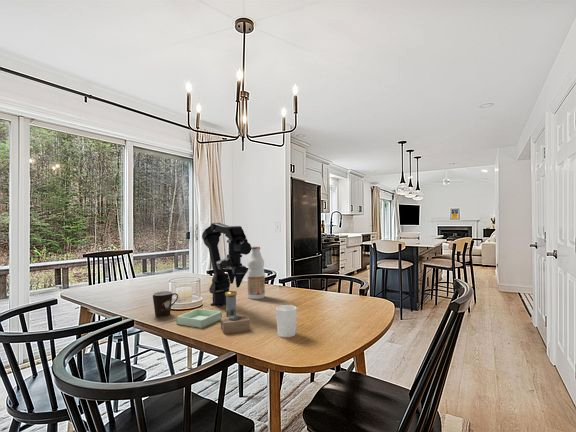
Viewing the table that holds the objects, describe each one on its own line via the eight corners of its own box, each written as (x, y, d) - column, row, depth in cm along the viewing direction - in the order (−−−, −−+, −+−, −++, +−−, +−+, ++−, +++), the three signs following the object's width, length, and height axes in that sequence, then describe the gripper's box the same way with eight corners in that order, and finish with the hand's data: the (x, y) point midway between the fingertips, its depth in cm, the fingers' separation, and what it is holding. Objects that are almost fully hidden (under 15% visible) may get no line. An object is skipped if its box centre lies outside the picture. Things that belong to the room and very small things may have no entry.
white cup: (275, 331, 127) (275, 305, 128) (295, 330, 128) (295, 304, 128) (276, 338, 120) (276, 311, 120) (298, 337, 120) (297, 310, 120)
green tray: (176, 323, 138) (176, 316, 138) (197, 315, 150) (197, 308, 150) (201, 327, 132) (201, 320, 132) (221, 318, 144) (221, 311, 144)
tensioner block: (220, 327, 132) (220, 315, 132) (245, 324, 136) (245, 313, 136) (223, 333, 125) (223, 320, 126) (249, 330, 129) (249, 317, 129)
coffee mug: (153, 319, 145) (153, 296, 145) (151, 314, 153) (151, 292, 153) (181, 315, 151) (180, 293, 151) (177, 310, 158) (177, 289, 158)
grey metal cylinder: (223, 324, 136) (222, 293, 136) (229, 321, 141) (229, 290, 141) (232, 325, 134) (232, 294, 134) (239, 322, 139) (239, 291, 139)
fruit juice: (248, 300, 177) (248, 247, 177) (246, 296, 186) (246, 246, 186) (266, 298, 179) (265, 247, 179) (263, 295, 188) (262, 245, 188)
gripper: (212, 251, 161) (212, 283, 161) (223, 255, 144) (223, 291, 145) (234, 250, 166) (234, 281, 166) (247, 254, 150) (247, 288, 150)
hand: (234, 285), depth 157 cm, fingers open, 9 cm apart
